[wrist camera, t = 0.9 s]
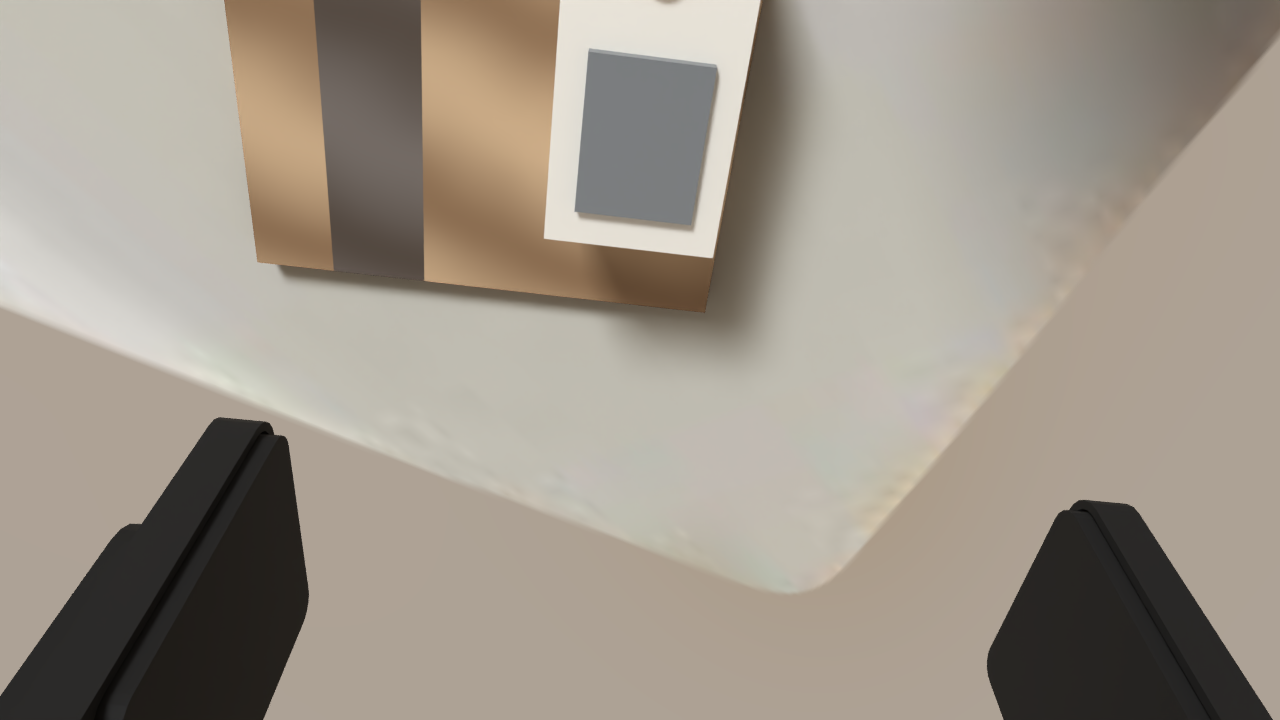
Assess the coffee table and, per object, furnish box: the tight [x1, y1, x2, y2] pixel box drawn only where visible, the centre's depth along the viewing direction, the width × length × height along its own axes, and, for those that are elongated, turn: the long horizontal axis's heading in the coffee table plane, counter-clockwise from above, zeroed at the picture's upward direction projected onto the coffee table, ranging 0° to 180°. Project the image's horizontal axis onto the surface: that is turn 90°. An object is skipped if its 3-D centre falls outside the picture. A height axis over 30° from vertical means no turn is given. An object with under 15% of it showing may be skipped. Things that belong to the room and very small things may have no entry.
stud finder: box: [544, 0, 761, 258], centre depth 23 cm, size 9×4×5 cm, turn 173°
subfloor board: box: [224, 0, 763, 313], centre depth 25 cm, size 18×15×1 cm
